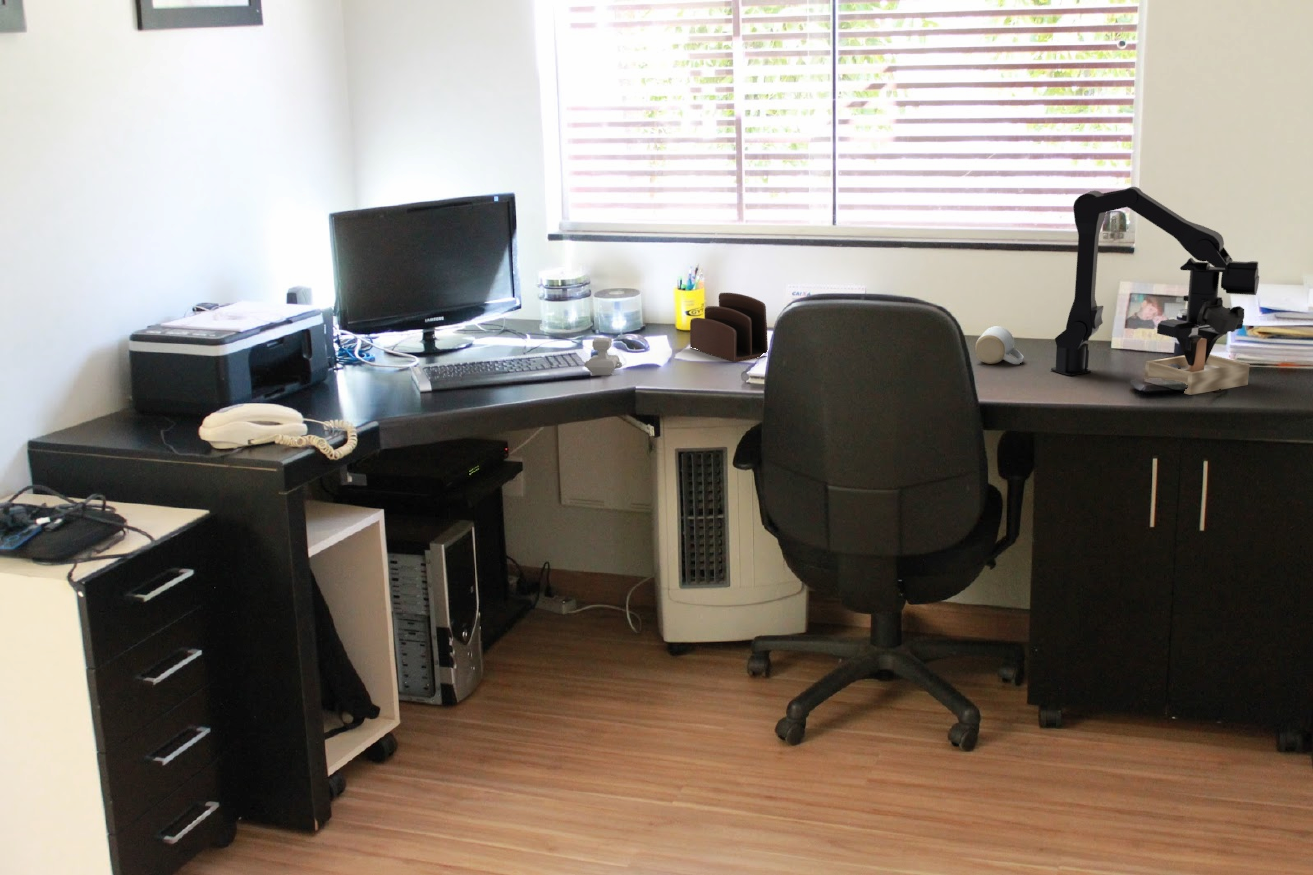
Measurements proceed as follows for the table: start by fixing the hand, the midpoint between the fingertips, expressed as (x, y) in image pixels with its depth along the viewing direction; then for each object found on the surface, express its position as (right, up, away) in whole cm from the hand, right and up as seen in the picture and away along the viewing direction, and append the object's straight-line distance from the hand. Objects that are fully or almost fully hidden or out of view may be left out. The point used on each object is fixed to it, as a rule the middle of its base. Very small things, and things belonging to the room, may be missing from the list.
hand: (1196, 364), depth 280 cm
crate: (0, -4, +1) cm, 4 cm away
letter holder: (-97, +5, +45) cm, 107 cm away
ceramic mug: (-35, +2, +26) cm, 44 cm away
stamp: (-127, -1, +27) cm, 130 cm away
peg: (0, -2, +1) cm, 2 cm away
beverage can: (+5, +1, +19) cm, 19 cm away
